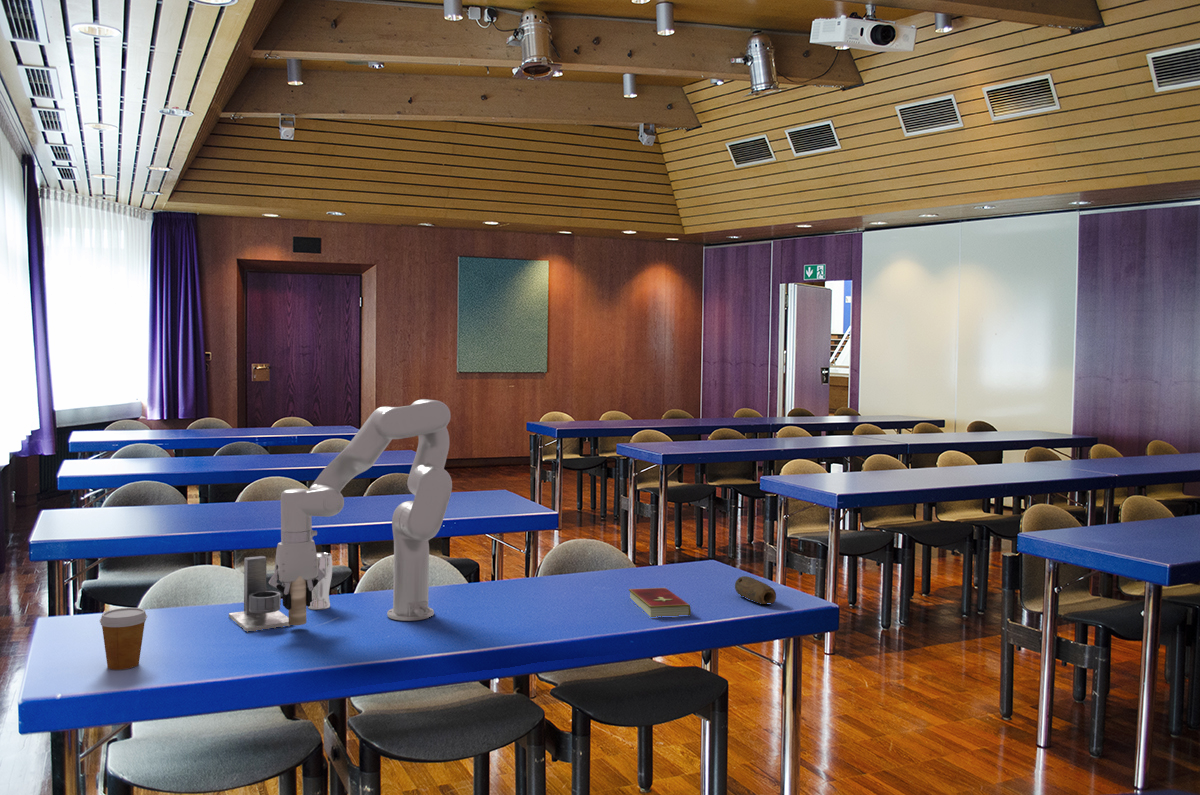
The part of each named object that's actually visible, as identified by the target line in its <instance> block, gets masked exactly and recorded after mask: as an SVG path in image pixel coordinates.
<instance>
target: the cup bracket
mask: <svg viewBox="0 0 1200 795" xmlns="http://www.w3.org/2000/svg"><path fill="white" fill-rule="evenodd" d="M243 561H244V563H243V564H244V565H243V566H244V567H243V569H244V571H243V572H244V573H243V611H236V612H229V613H228V618H229V617H230V618H231V619H232V620H233V621H235V622H236V623H237V624H238V625H239V626H240V627H242V628H243V629H244V630H245V631H247V633H249V632H248V631H254V632H257V631H256V630H261V631H263V630H262V629H268V630H270V629H269V628H274V629H277V628H276V627H281V628H284V627H283V626H288V627H291V626H290V625H289V616H287V615H285V613H283V612H281V611H280V610H281V602H282V601H281V600H282V598H281V597H282V596H281V595H282V594H281V593H282V592H280V591H276V590H275V591H274V590H267V557H266V556H264V555H259V556H258V555H257V556H249V557H244V559H243ZM230 618H229V619H230ZM231 619H230V620H231ZM232 620H231V621H232ZM233 621H232V622H233ZM236 623H235V624H236ZM237 624H236V625H237ZM238 625H237V626H238ZM239 626H238V627H239ZM240 627H239V628H240ZM242 628H241V629H242ZM243 629H242V630H243ZM244 630H243V631H244ZM245 631H244V632H245Z"/></svg>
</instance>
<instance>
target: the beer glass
mask: <svg viewBox="0 0 1200 795" xmlns="http://www.w3.org/2000/svg"><path fill="white" fill-rule="evenodd" d="M316 553H317V560H318V567H319V569H320V570H321V571H322V572H323V574H324V575H325V577H324V578H323V579H322V580H321V581H319V582H318V584H317V585H316V586H315V587H314V589H313V590H312V602H310V606H309V607H308V606H307V609H308V610H314V611H321V610H327V609H329V608H330V607H331V602H330V587H331V583H332V576H333V557H332V556H333V554H332V553H330V552H329V553H328V552H316ZM311 580H312V579H311Z"/></svg>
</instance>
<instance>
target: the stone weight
mask: <svg viewBox="0 0 1200 795" xmlns="http://www.w3.org/2000/svg"><path fill="white" fill-rule="evenodd" d="M734 588H735V591H736V593H737V595H739V594H740V595H741V596H740V595H739V596H740V597H742V596H744V597H746V598H748V599H750V600H753V601H755V602H758V603H761V604H767V603H772V604H774V603H775V601H776V599H777V593H776V590H775V589H774V588H773V587H771V585H769V584H767V583H765V582H762V581H760V580H757V579H756V578H754V577H752V576H744V575H743V576H739V577H737V579H736V581H735V583H734ZM750 600H749V601H750ZM761 604H760V605H761Z"/></svg>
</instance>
